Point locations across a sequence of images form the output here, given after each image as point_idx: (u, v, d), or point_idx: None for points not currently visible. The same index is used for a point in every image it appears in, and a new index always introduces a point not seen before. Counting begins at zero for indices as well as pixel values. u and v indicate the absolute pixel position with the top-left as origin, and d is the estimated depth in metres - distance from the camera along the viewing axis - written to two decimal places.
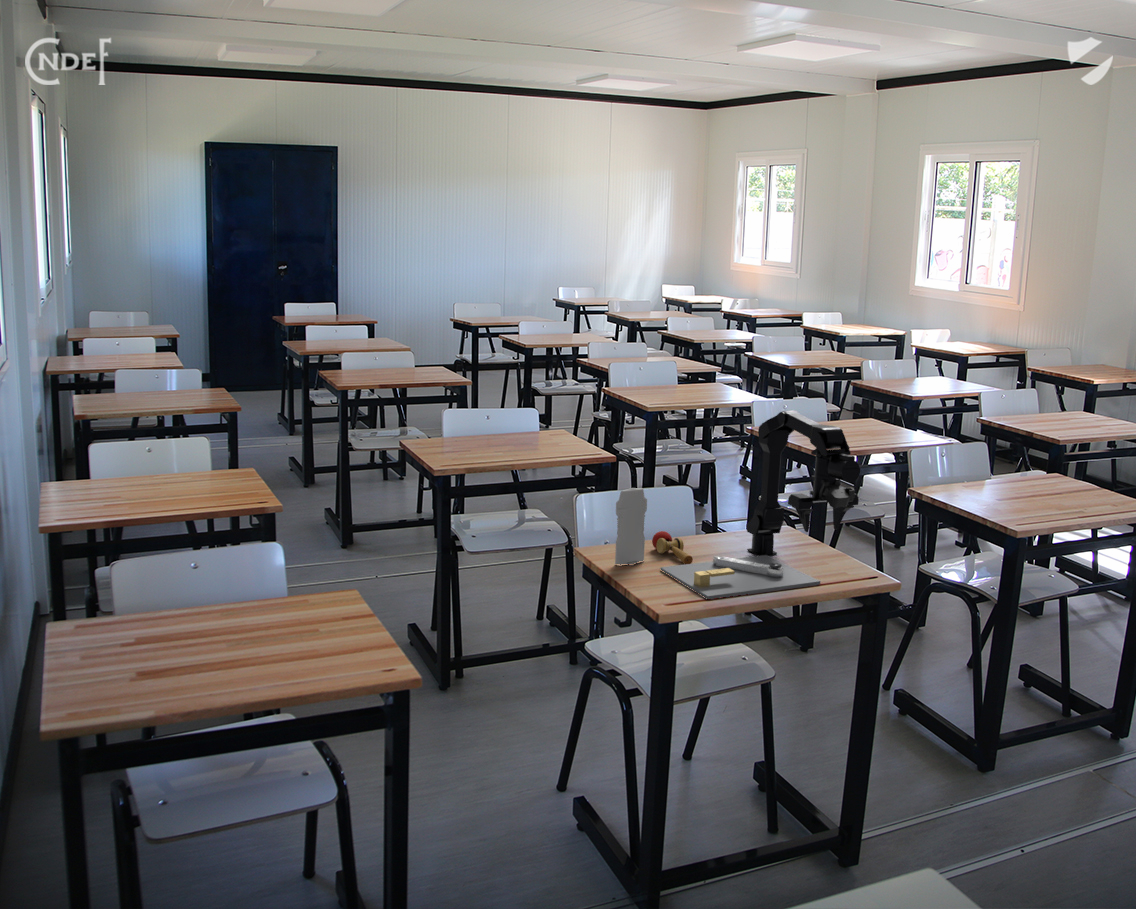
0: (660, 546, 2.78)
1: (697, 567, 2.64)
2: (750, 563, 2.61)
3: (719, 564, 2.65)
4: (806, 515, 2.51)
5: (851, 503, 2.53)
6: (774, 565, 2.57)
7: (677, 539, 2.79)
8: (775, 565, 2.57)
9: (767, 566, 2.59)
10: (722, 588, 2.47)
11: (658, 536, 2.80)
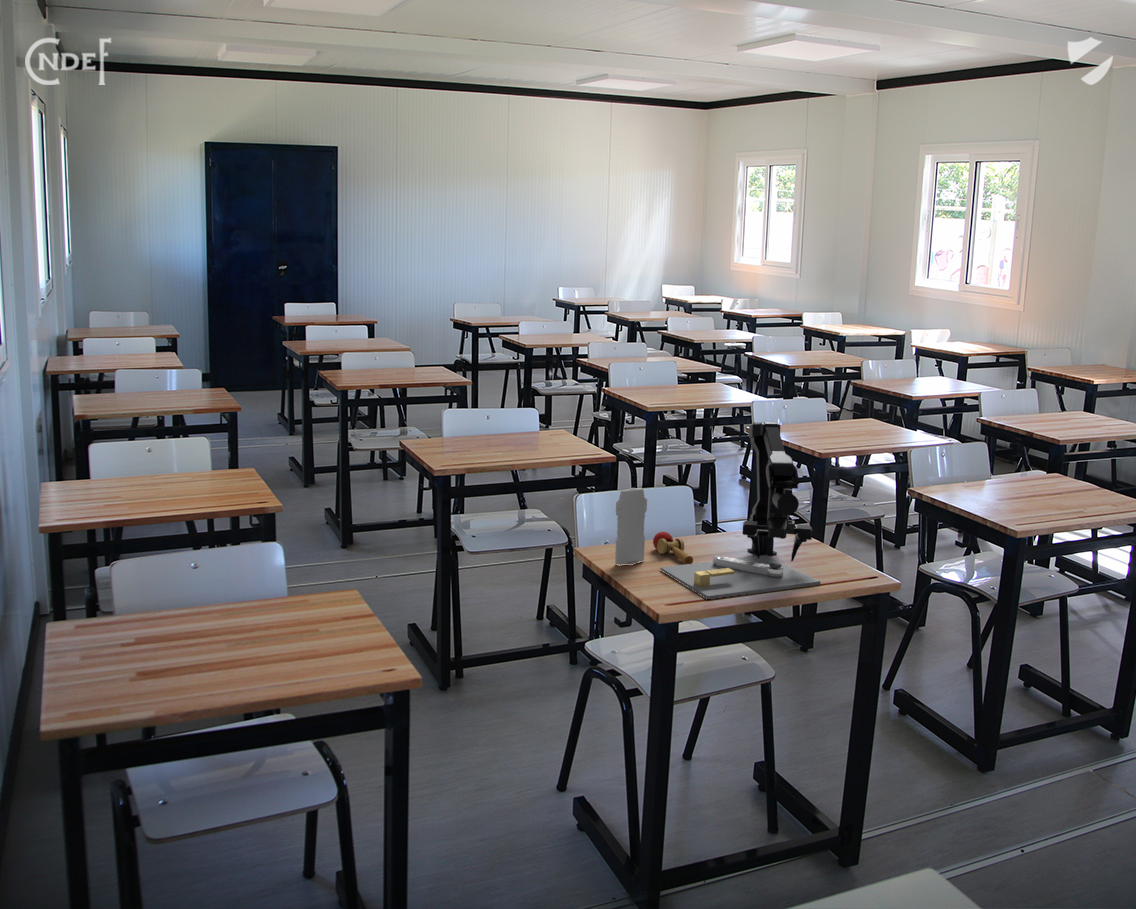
0: (661, 546, 2.78)
1: (697, 567, 2.64)
2: (750, 563, 2.61)
3: (719, 564, 2.65)
4: (754, 542, 2.64)
5: (801, 537, 2.60)
6: (774, 565, 2.57)
7: (678, 539, 2.78)
8: (775, 565, 2.57)
9: (767, 566, 2.59)
10: (722, 588, 2.47)
11: (659, 536, 2.80)
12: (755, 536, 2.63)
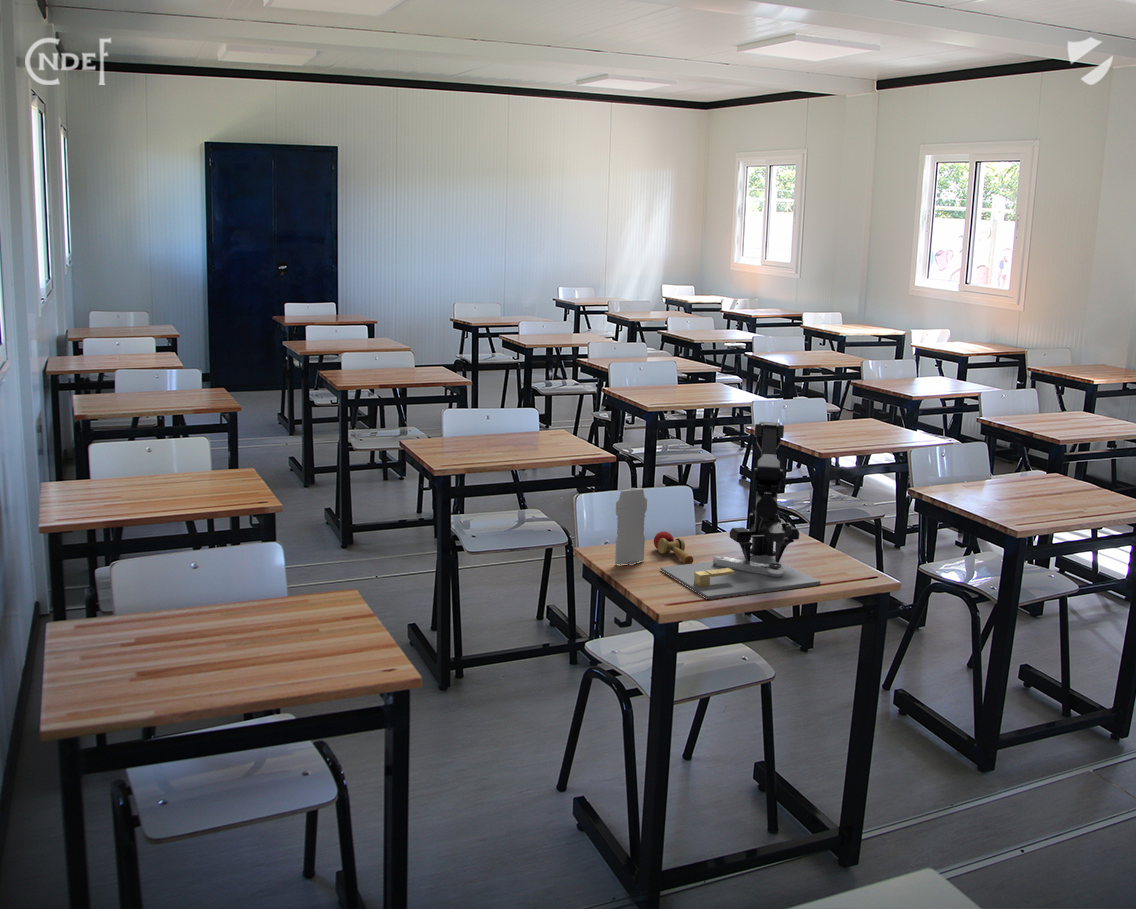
0: (661, 546, 2.78)
1: (697, 567, 2.64)
2: (750, 563, 2.61)
3: (719, 564, 2.65)
4: (746, 548, 2.62)
5: (791, 538, 2.63)
6: (774, 565, 2.57)
7: (678, 539, 2.78)
8: (775, 565, 2.57)
9: (767, 566, 2.59)
10: (722, 588, 2.47)
11: (660, 536, 2.80)
12: (749, 542, 2.60)
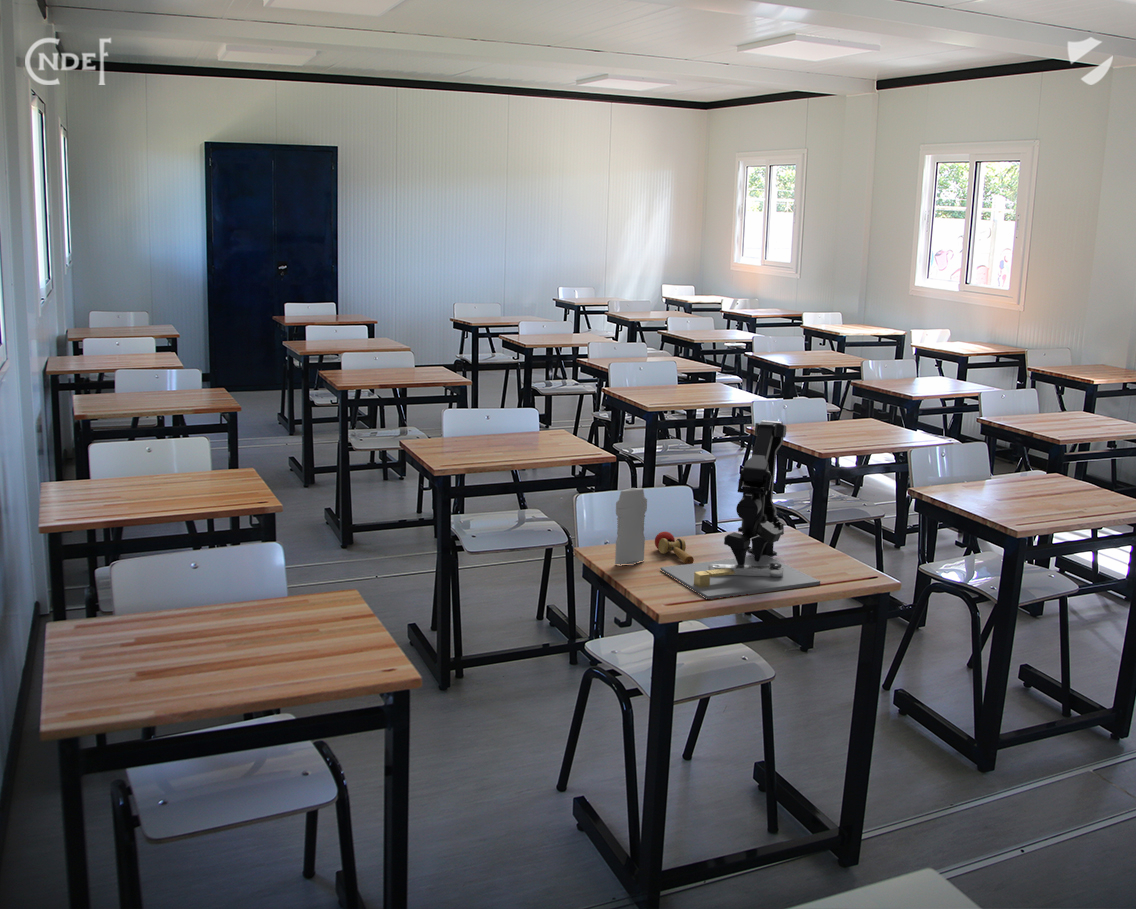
0: (662, 546, 2.77)
1: (697, 567, 2.64)
2: (749, 567, 2.58)
3: None
4: (744, 553, 2.58)
5: None
6: (774, 565, 2.57)
7: (679, 540, 2.78)
8: (775, 565, 2.57)
9: (766, 567, 2.58)
10: (722, 588, 2.47)
11: (661, 536, 2.80)
12: (748, 546, 2.57)
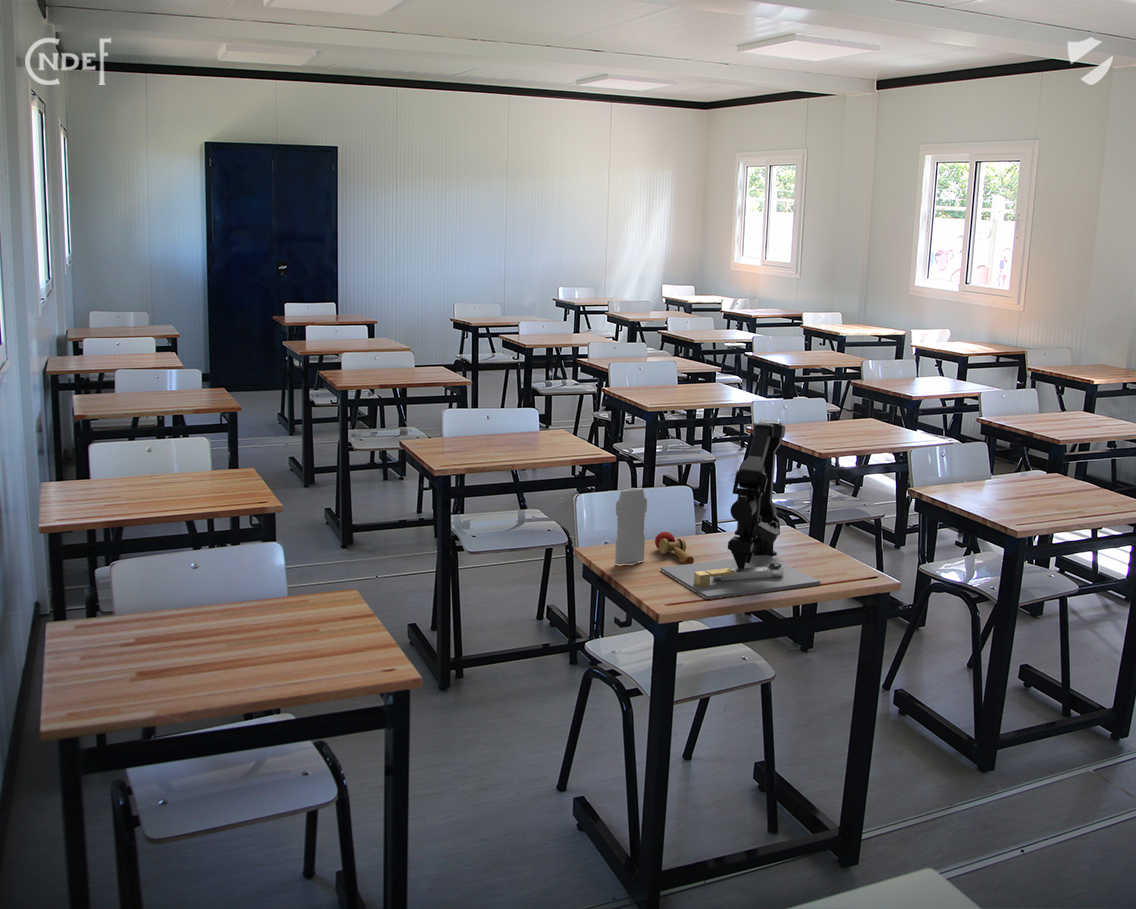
0: (662, 546, 2.77)
1: (697, 567, 2.64)
2: (751, 569, 2.56)
3: (724, 578, 2.52)
4: (746, 556, 2.55)
5: None
6: (774, 565, 2.57)
7: (680, 540, 2.78)
8: (775, 565, 2.57)
9: (767, 568, 2.57)
10: (722, 588, 2.47)
11: (661, 536, 2.79)
12: None
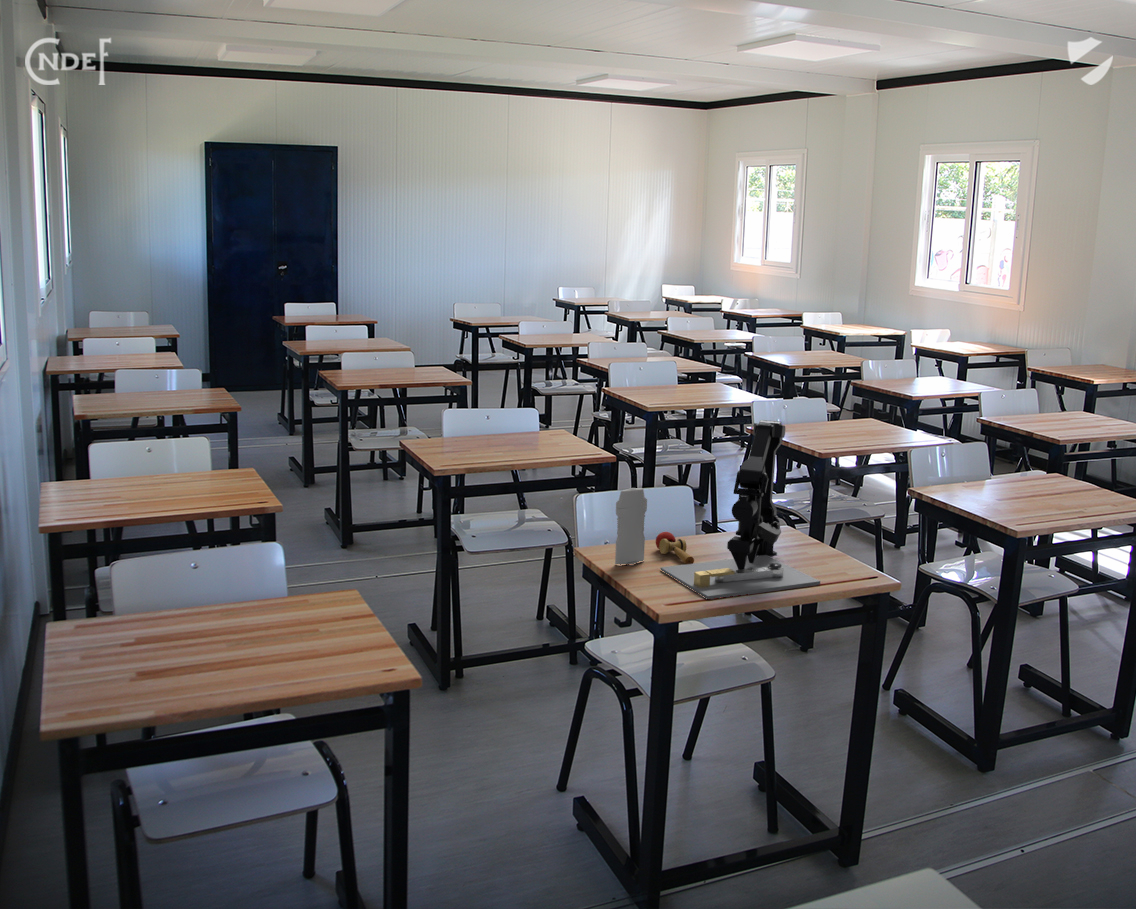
0: (663, 547, 2.77)
1: (697, 567, 2.64)
2: (752, 570, 2.55)
3: (726, 580, 2.51)
4: (746, 556, 2.55)
5: None
6: (774, 565, 2.57)
7: (680, 540, 2.78)
8: (775, 565, 2.57)
9: (767, 568, 2.57)
10: (722, 588, 2.47)
11: (661, 536, 2.79)
12: (750, 550, 2.54)
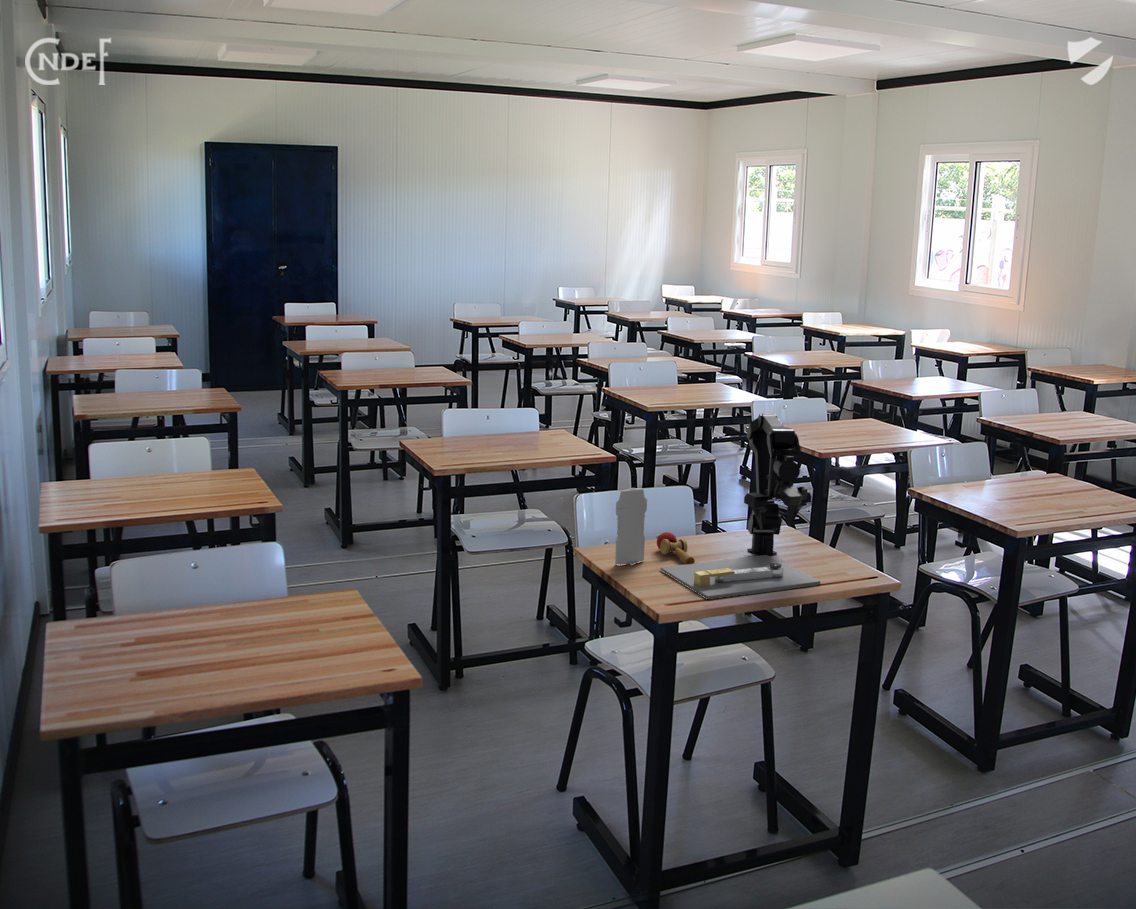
0: (664, 547, 2.77)
1: (697, 567, 2.64)
2: (752, 570, 2.55)
3: (726, 580, 2.51)
4: (761, 513, 2.61)
5: (804, 501, 2.63)
6: (774, 565, 2.57)
7: (681, 540, 2.78)
8: (775, 565, 2.57)
9: (767, 568, 2.57)
10: (722, 588, 2.47)
11: (663, 537, 2.79)
12: (765, 507, 2.59)
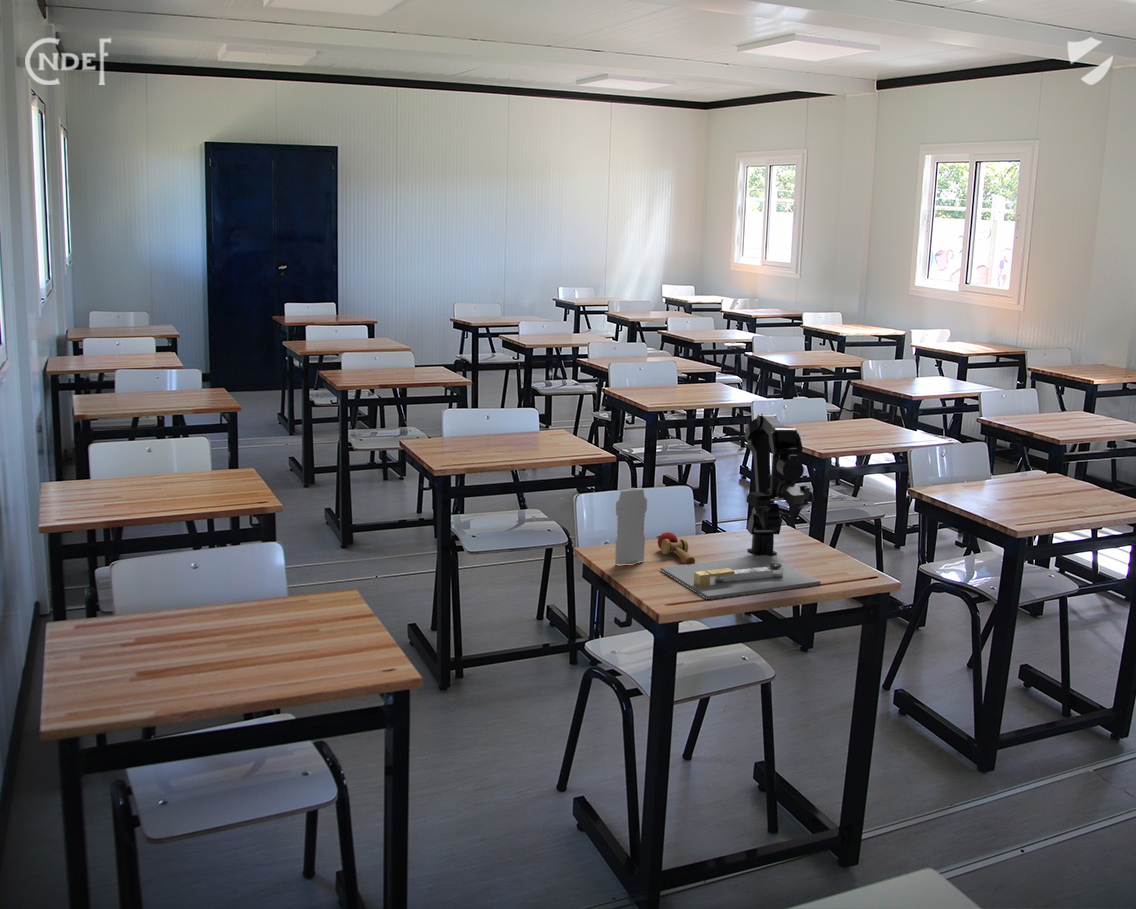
0: (664, 547, 2.77)
1: (697, 567, 2.64)
2: (752, 570, 2.55)
3: (726, 580, 2.51)
4: (764, 512, 2.61)
5: (806, 500, 2.64)
6: (774, 565, 2.57)
7: (682, 540, 2.78)
8: (775, 565, 2.57)
9: (767, 568, 2.57)
10: (722, 588, 2.47)
11: (663, 537, 2.79)
12: (767, 506, 2.60)
